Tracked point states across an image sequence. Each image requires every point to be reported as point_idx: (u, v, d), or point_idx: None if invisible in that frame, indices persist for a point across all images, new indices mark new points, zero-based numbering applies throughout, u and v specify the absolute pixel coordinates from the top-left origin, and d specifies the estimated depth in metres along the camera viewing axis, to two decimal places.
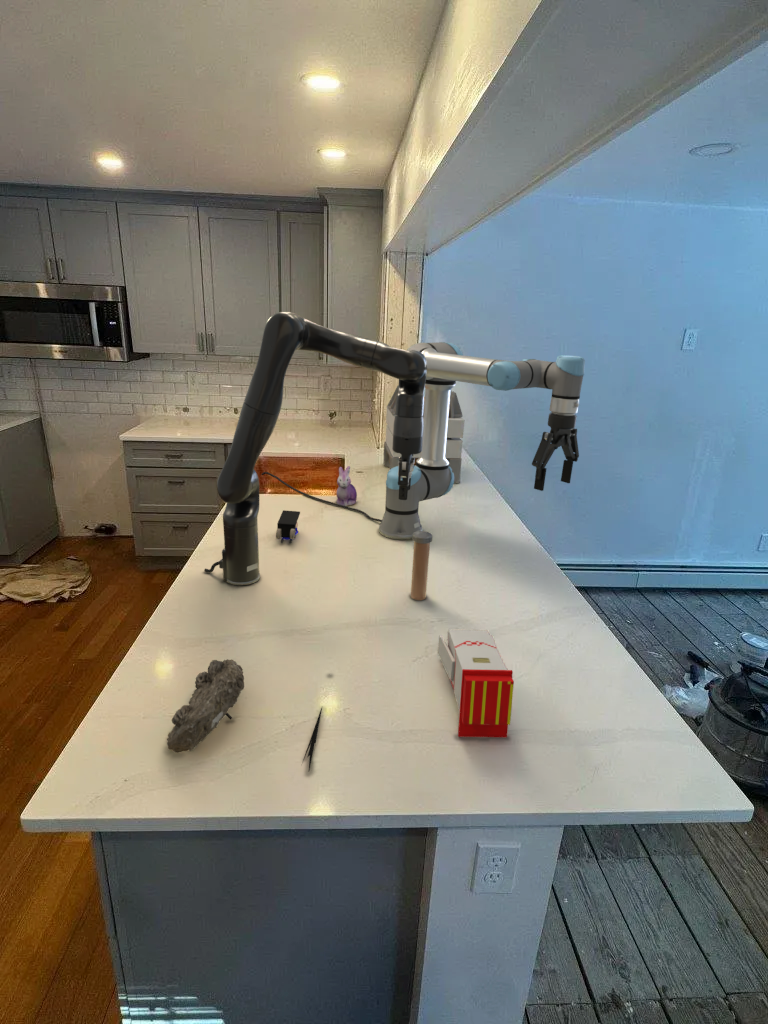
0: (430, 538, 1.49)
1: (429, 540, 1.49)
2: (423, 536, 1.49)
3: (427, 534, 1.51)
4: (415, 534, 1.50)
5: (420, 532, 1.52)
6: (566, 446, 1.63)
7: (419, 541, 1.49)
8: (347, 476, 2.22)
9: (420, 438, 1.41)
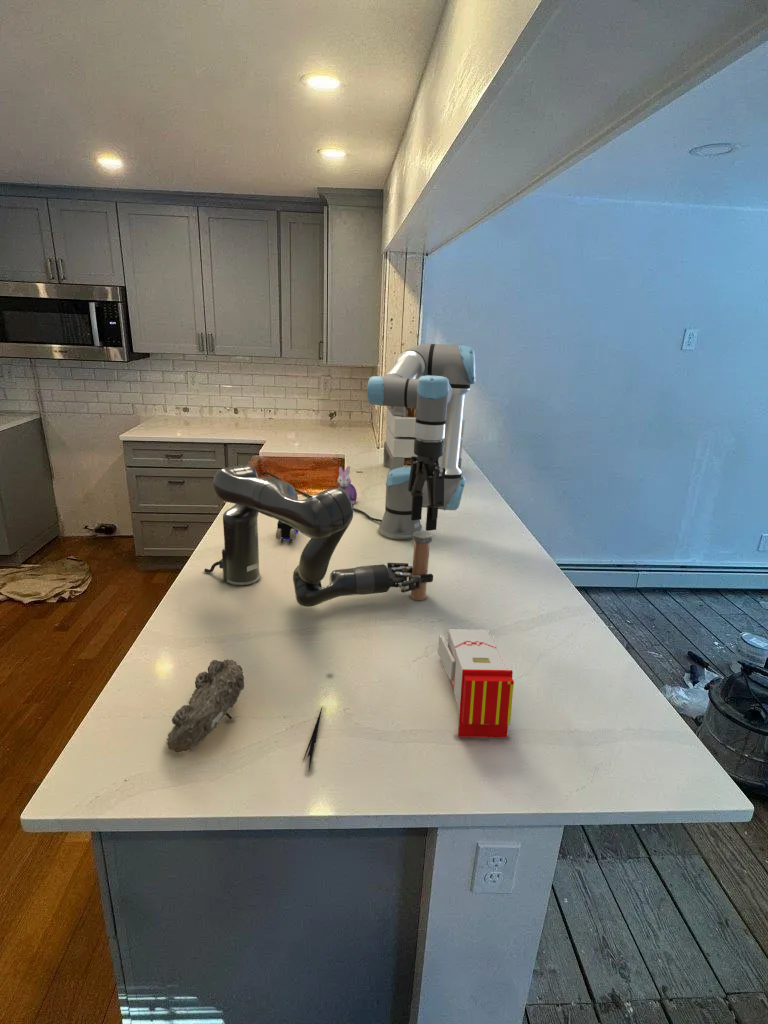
0: (430, 538, 1.49)
1: (429, 540, 1.49)
2: (423, 536, 1.49)
3: (427, 534, 1.51)
4: (415, 534, 1.50)
5: (420, 532, 1.52)
6: None
7: (419, 541, 1.49)
8: (347, 476, 2.22)
9: None
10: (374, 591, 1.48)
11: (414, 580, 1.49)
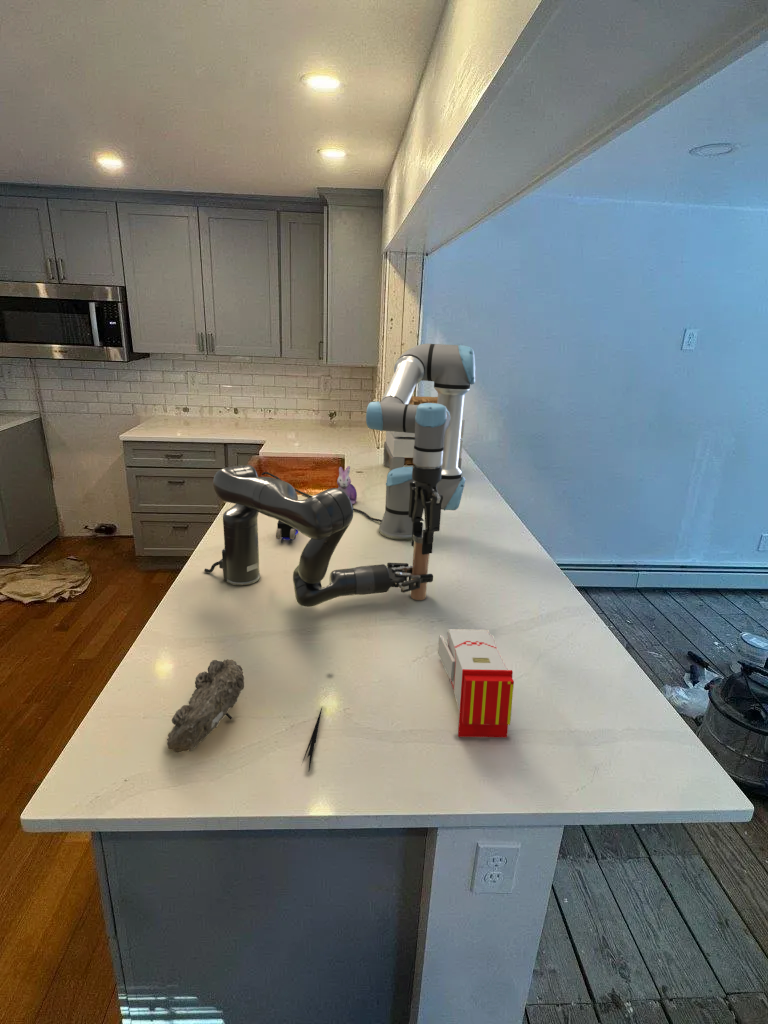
0: None
1: None
2: None
3: None
4: (415, 534, 1.50)
5: (420, 532, 1.52)
6: None
7: (419, 541, 1.49)
8: (347, 476, 2.22)
9: None
10: (374, 591, 1.48)
11: (414, 580, 1.49)
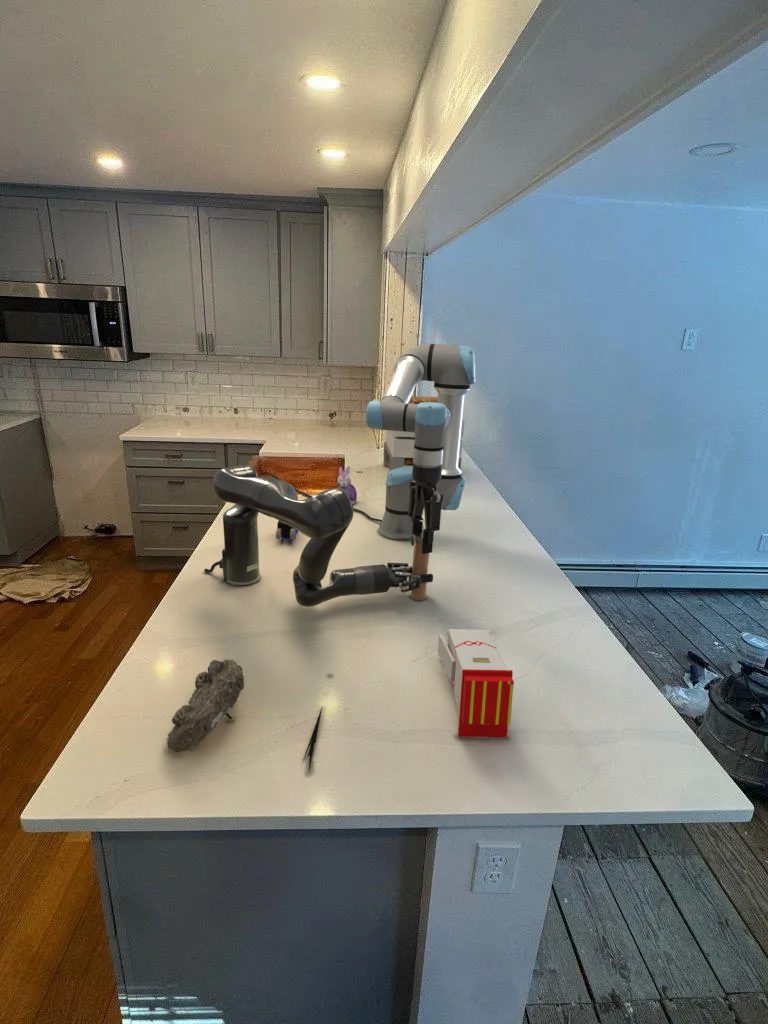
0: None
1: None
2: None
3: (419, 532, 1.52)
4: None
5: (419, 535, 1.50)
6: None
7: None
8: (347, 476, 2.22)
9: None
10: (374, 591, 1.48)
11: (414, 580, 1.49)
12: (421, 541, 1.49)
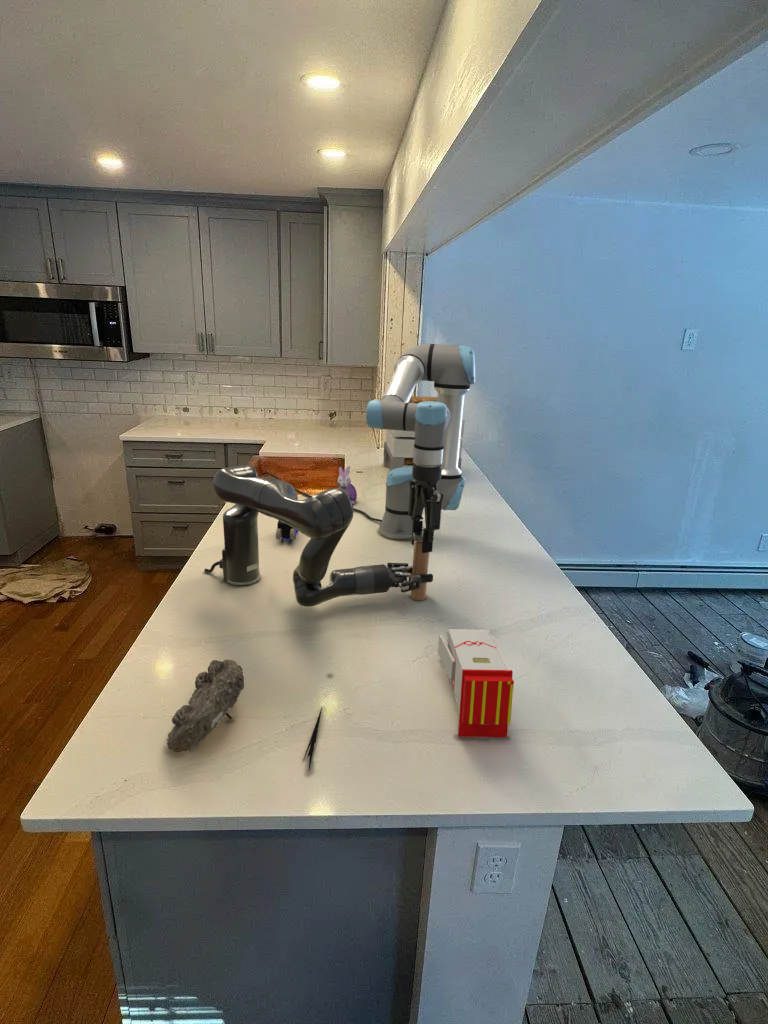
0: (414, 535, 1.50)
1: (413, 536, 1.50)
2: (417, 532, 1.51)
3: (421, 534, 1.49)
4: None
5: None
6: None
7: None
8: (347, 476, 2.22)
9: None
10: (374, 591, 1.48)
11: (414, 580, 1.49)
12: None
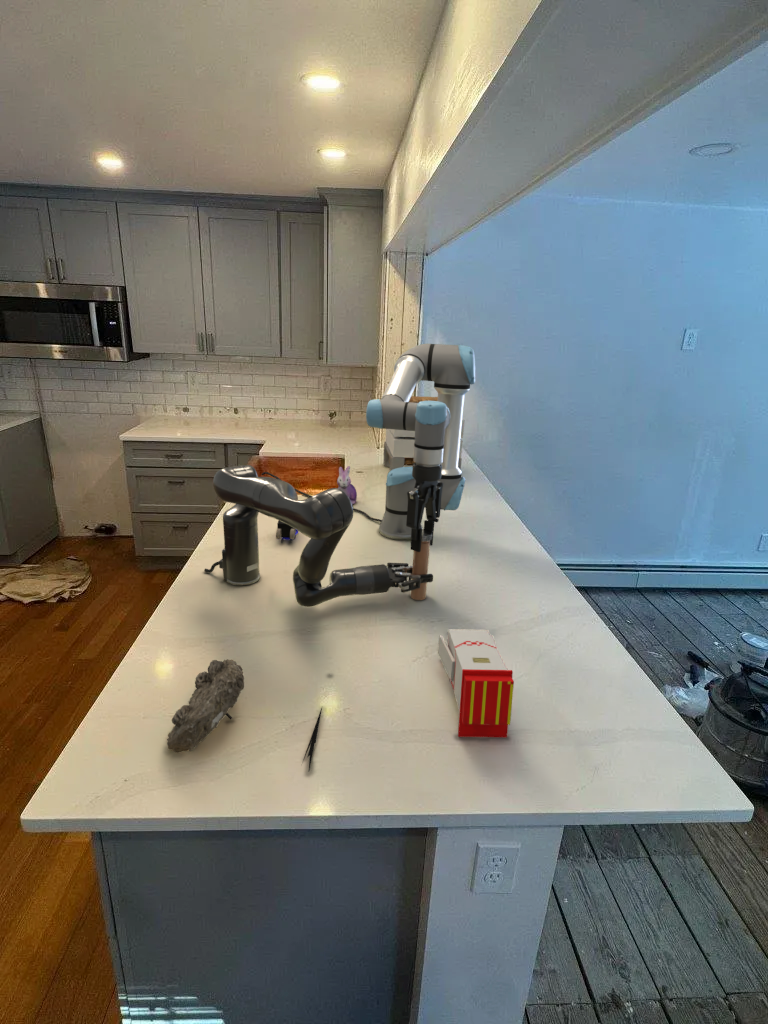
0: (430, 536, 1.49)
1: (429, 538, 1.49)
2: (423, 534, 1.49)
3: (427, 532, 1.51)
4: None
5: None
6: None
7: None
8: (347, 476, 2.22)
9: None
10: (374, 591, 1.48)
11: (414, 580, 1.49)
12: None
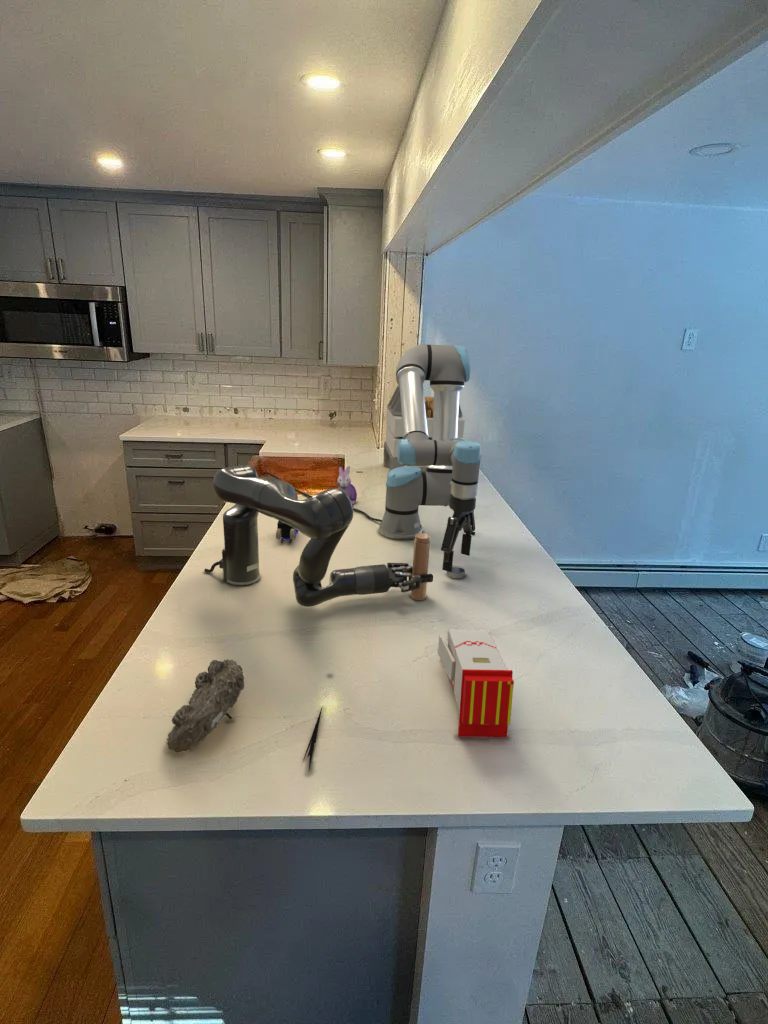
0: (464, 573, 1.69)
1: (463, 575, 1.69)
2: (458, 572, 1.69)
3: (460, 569, 1.71)
4: None
5: (453, 568, 1.71)
6: None
7: (455, 577, 1.68)
8: (347, 476, 2.22)
9: None
10: (374, 591, 1.48)
11: (414, 580, 1.49)
12: None
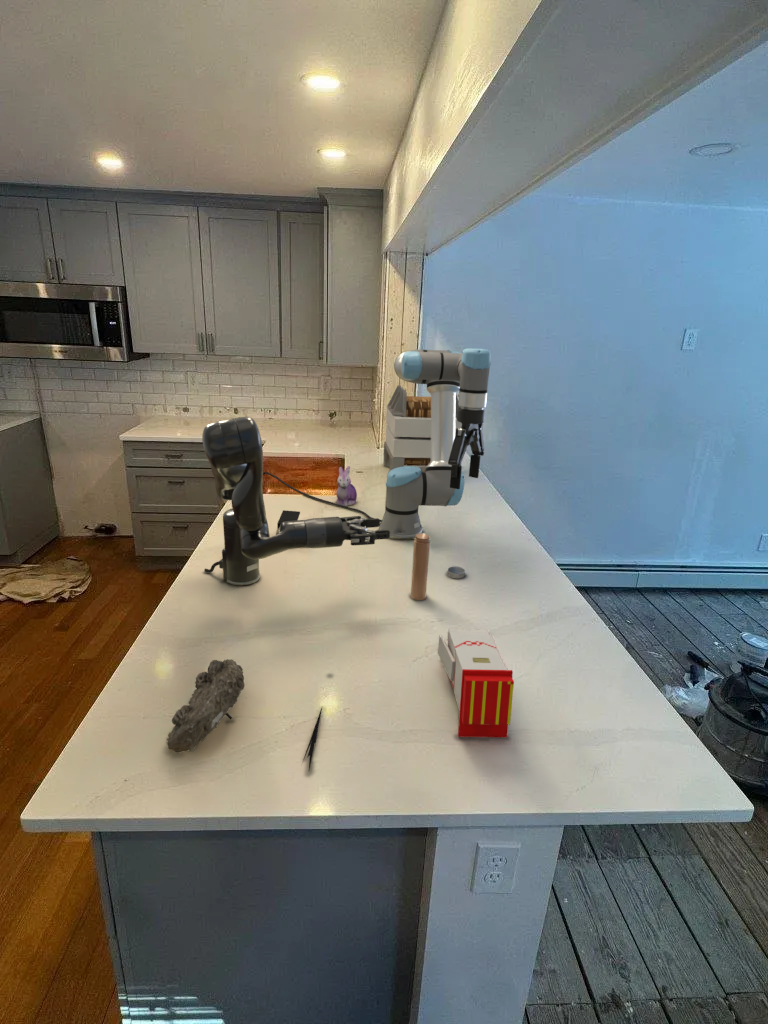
0: (464, 573, 1.69)
1: (463, 575, 1.69)
2: (458, 572, 1.69)
3: (460, 569, 1.71)
4: (450, 570, 1.70)
5: (453, 568, 1.71)
6: None
7: (455, 577, 1.68)
8: (347, 476, 2.22)
9: None
10: (326, 544, 1.39)
11: (367, 534, 1.38)
12: None
